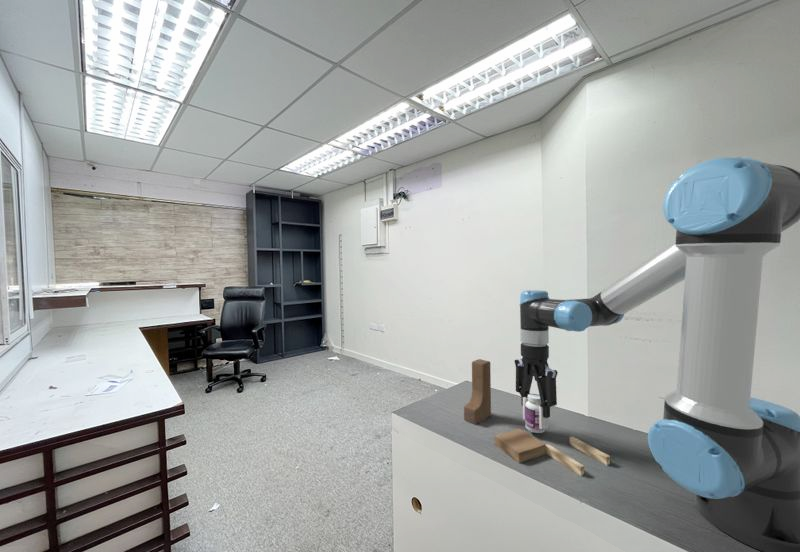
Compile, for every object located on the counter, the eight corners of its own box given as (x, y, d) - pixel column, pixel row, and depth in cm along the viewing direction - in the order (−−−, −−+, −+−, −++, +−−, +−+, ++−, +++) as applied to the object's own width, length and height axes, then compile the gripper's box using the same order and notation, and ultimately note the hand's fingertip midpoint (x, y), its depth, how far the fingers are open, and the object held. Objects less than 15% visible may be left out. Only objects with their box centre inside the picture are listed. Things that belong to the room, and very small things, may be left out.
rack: (609, 464, 75) (609, 456, 75) (580, 475, 71) (580, 467, 71) (572, 443, 84) (572, 436, 84) (544, 452, 80) (544, 445, 80)
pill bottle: (538, 435, 86) (538, 401, 85) (521, 427, 90) (521, 395, 90) (549, 430, 89) (549, 396, 88) (532, 422, 93) (532, 391, 93)
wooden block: (475, 425, 95) (474, 367, 95) (463, 419, 98) (462, 364, 98) (491, 415, 101) (490, 361, 101) (479, 411, 104) (479, 358, 104)
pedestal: (545, 454, 79) (545, 444, 79) (519, 463, 76) (519, 453, 76) (519, 437, 88) (519, 428, 88) (494, 444, 84) (494, 435, 84)
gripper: (572, 349, 82) (573, 435, 82) (520, 336, 99) (521, 408, 99) (552, 352, 79) (552, 441, 79) (502, 338, 96) (503, 412, 96)
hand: (535, 422), depth 89 cm, fingers closed on pill bottle, 5 cm apart
